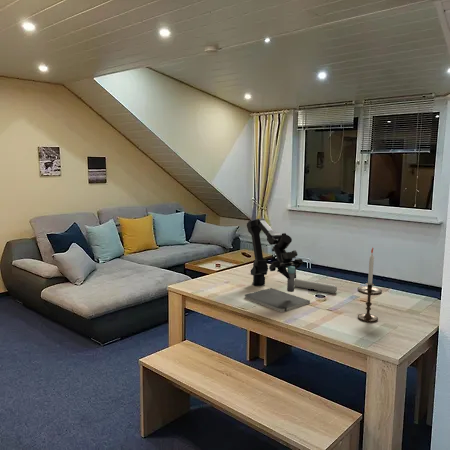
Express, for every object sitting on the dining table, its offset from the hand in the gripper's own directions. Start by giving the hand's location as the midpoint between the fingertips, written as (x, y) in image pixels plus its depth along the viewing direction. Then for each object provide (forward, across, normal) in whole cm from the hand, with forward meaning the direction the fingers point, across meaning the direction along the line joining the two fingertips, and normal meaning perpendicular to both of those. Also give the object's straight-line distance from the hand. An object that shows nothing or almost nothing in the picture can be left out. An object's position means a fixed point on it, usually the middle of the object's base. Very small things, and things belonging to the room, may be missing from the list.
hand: (292, 278), depth 219 cm
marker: (+4, 0, +6) cm, 7 cm away
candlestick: (+34, +19, -15) cm, 42 cm away
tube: (0, +26, +19) cm, 32 cm away
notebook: (+6, -6, +14) cm, 16 cm away
